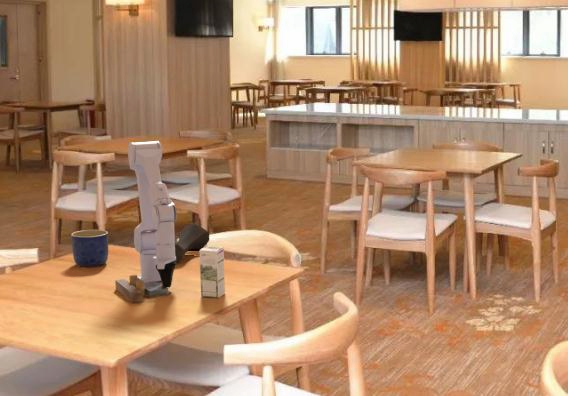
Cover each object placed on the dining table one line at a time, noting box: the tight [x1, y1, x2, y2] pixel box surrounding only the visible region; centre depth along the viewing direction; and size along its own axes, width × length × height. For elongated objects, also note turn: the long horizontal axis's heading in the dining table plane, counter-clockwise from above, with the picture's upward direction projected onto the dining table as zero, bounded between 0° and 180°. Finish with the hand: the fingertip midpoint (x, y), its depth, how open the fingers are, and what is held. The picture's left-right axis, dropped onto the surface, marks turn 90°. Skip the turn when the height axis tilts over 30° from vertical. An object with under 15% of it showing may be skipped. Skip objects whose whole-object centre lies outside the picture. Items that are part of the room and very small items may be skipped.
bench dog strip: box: [114, 274, 146, 304], centre depth 302 cm, size 5×18×5 cm, turn 25°
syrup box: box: [199, 245, 226, 299], centre depth 299 cm, size 6×6×14 cm
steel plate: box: [144, 281, 169, 298], centre depth 305 cm, size 6×10×2 cm, turn 27°
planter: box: [70, 229, 109, 268], centre depth 343 cm, size 12×12×11 cm
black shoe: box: [172, 223, 210, 265], centre depth 355 cm, size 11×10×28 cm
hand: (167, 286), depth 307 cm, fingers closed
